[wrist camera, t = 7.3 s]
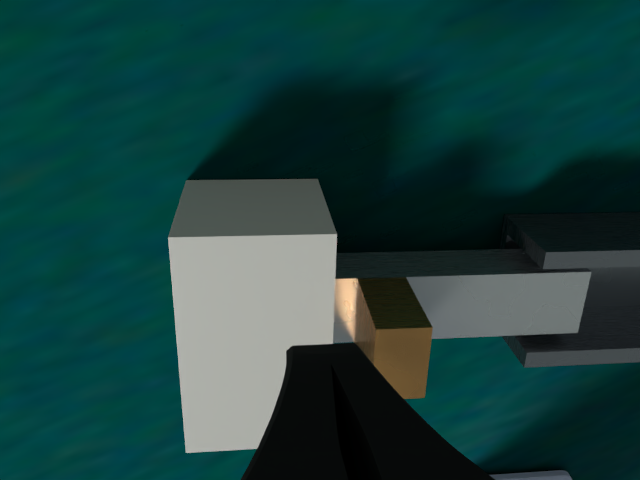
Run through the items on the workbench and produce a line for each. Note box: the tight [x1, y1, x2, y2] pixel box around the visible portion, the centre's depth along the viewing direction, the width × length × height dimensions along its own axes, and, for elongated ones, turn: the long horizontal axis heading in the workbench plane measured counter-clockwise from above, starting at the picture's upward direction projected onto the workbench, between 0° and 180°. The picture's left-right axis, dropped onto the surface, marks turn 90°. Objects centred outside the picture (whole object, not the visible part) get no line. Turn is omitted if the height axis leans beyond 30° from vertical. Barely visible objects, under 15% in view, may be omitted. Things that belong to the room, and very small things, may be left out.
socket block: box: [168, 179, 337, 453], centre depth 20 cm, size 7×4×5 cm, turn 179°
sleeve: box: [499, 212, 640, 367], centre depth 22 cm, size 4×10×3 cm, turn 88°
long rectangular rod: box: [333, 249, 591, 399], centre depth 19 cm, size 2×12×5 cm, turn 88°
